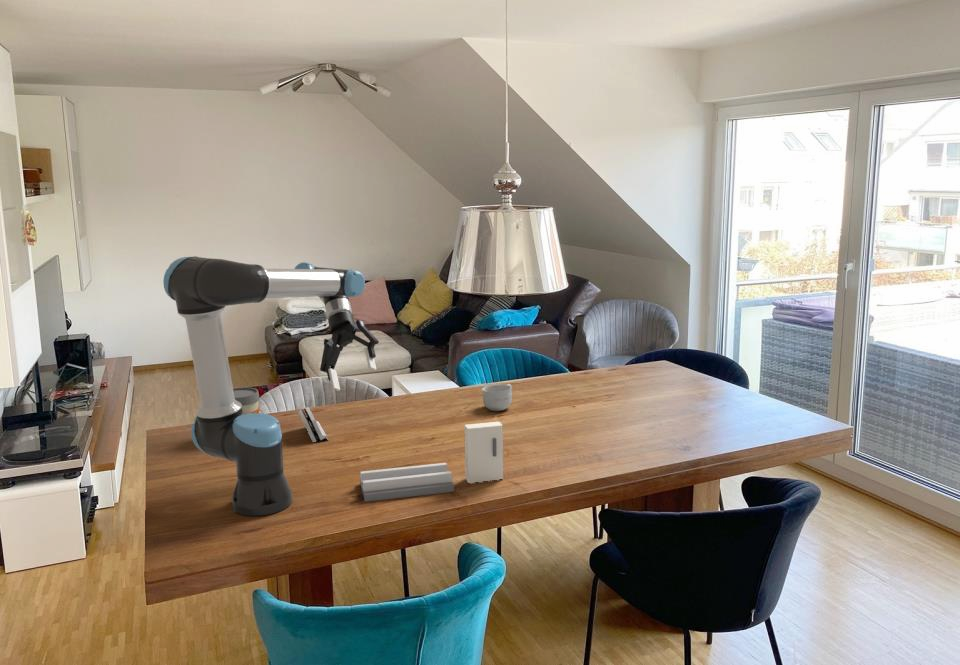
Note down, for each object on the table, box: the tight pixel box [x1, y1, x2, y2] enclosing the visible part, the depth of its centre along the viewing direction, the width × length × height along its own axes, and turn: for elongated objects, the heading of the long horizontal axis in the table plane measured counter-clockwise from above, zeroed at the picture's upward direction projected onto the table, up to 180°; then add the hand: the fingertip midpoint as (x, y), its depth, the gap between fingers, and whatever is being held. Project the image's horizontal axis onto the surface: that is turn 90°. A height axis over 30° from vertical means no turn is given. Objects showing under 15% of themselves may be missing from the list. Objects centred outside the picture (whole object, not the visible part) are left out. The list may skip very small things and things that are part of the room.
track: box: [359, 462, 455, 503], centre depth 210 cm, size 24×12×4 cm, turn 104°
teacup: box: [481, 383, 513, 412], centre depth 279 cm, size 14×11×8 cm
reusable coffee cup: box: [233, 386, 261, 414], centre depth 251 cm, size 12×12×15 cm
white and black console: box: [297, 406, 329, 443], centre depth 253 cm, size 17×5×10 cm, turn 21°
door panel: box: [464, 421, 504, 484], centre depth 213 cm, size 10×4×16 cm, turn 104°
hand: (354, 379), depth 219 cm, fingers open, 13 cm apart
